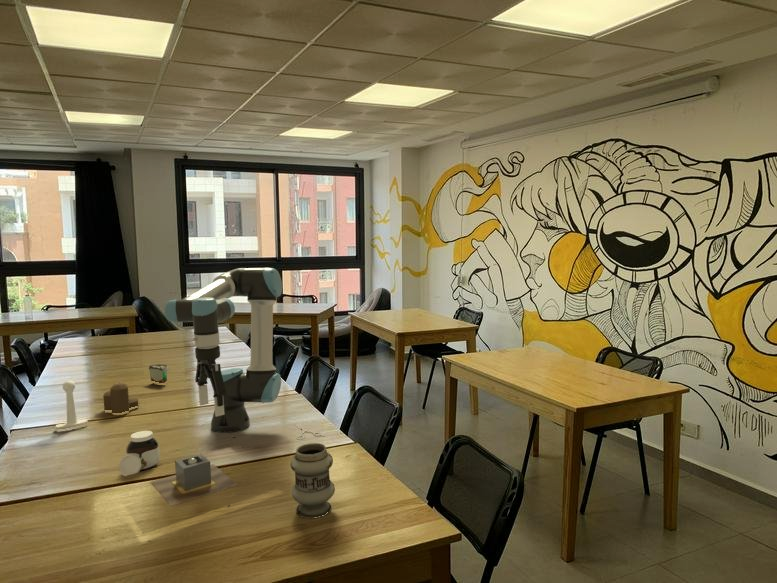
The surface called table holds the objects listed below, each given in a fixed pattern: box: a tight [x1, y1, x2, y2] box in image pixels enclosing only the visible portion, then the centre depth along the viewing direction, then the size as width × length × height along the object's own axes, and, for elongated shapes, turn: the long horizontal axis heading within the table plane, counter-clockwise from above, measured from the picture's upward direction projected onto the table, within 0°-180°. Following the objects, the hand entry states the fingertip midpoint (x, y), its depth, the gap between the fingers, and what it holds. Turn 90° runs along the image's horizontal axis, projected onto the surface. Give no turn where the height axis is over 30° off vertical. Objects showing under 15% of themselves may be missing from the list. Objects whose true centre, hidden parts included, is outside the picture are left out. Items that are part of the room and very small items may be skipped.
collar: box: [174, 453, 211, 491], centre depth 167 cm, size 8×8×7 cm
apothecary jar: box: [289, 442, 336, 519], centre depth 152 cm, size 12×12×18 cm
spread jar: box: [118, 430, 160, 477], centre depth 181 cm, size 12×11×12 cm
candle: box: [103, 380, 139, 414], centre depth 243 cm, size 14×14×15 cm
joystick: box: [55, 380, 89, 431], centre depth 223 cm, size 11×8×20 cm
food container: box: [148, 363, 169, 383], centre depth 288 cm, size 12×6×10 cm, turn 58°
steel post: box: [187, 458, 198, 466], centre depth 167 cm, size 3×3×8 cm
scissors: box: [296, 428, 326, 441], centre depth 215 cm, size 11×1×20 cm
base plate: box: [150, 463, 239, 507], centre depth 168 cm, size 20×20×2 cm
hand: (211, 409), depth 177 cm, fingers open, 13 cm apart
